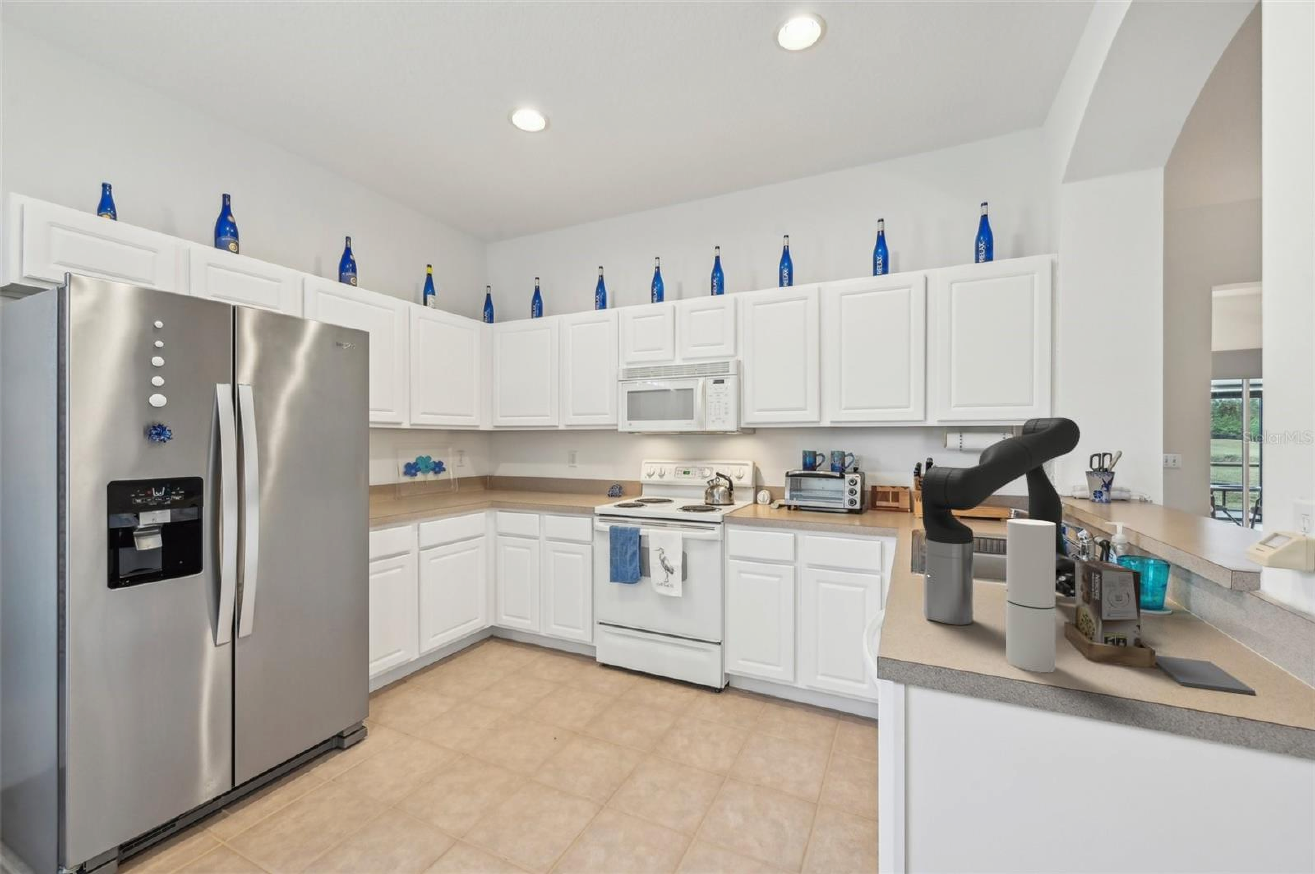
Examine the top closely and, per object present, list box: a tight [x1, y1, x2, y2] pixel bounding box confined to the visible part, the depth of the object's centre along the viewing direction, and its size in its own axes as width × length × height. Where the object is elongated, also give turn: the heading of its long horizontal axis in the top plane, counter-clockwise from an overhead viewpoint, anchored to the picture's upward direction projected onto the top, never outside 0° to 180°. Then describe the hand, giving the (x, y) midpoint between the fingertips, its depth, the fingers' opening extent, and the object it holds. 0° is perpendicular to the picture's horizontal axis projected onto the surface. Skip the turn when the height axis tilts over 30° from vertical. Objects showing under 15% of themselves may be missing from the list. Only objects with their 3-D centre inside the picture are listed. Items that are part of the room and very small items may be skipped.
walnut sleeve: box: [1063, 620, 1157, 669], centre depth 102 cm, size 10×13×3 cm
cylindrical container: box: [1005, 518, 1056, 673], centre depth 97 cm, size 7×7×25 cm
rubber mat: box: [1155, 654, 1256, 696], centre depth 92 cm, size 9×12×1 cm
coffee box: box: [1074, 560, 1142, 648], centre depth 102 cm, size 9×6×16 cm
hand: (1094, 594), depth 108 cm, fingers open, 8 cm apart
